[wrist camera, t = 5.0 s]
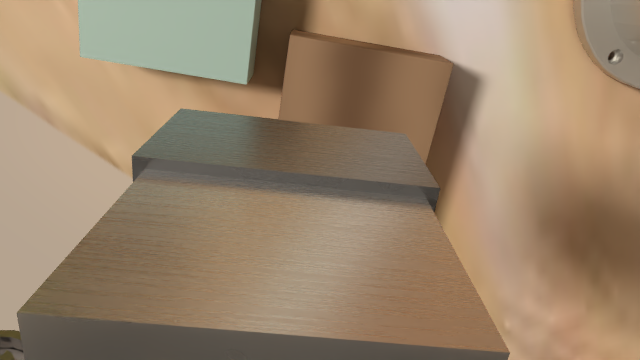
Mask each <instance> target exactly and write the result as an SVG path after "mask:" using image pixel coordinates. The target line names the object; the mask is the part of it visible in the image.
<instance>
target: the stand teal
mask: <svg viewBox="0 0 640 360" xmlns="http://www.w3.org/2000/svg"><path fill="white" fill-rule="evenodd" d="M261 2H262V0H78V14H79V41H80V57H84V58H90V59H96V60H102V61H108V62H114V63H120V64H126V65H132V66H138V67H144V68H150V69H156V70H162V71H168V72H174V73H180V74H186V75H192V76H198V77H204V78H210V79H216V80H222V81H228V82H234V83H240V84H246V85H247V83H248V82H249V80H250V79H251V77H252V76H253V74H254V65H255V56H256V47H257V38H258V29H259V20H260V11H261Z"/></svg>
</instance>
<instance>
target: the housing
mask: <svg viewBox="0 0 640 360" xmlns="http://www.w3.org/2000/svg"><path fill="white" fill-rule="evenodd" d="M132 170H133V183H132V184H131V185H130V186H129V188H128V189H127V190H126V191H125V192H124V193H123V194H122V195H121V196H120V198H119V199H118V200H117V201H116V202H115V203H114V204H113V205H112V207H111V208H110V209H109V210H108V211H107V212H106V213H105V214H104V216H103V217H102V218H101V219H100V220H99V221H98V222H97V224H96V225H95V226H94V227H93V228H92V229H91V230H90V231H89V232H88V234H87V235H86V236H85V237H84V238H83V239H82V240H81V241H80V242H79V244H78V245H77V246H76V247H75V248H74V249H73V250H72V251H71V253H70V254H69V255H68V256H67V257H66V258H65V259H64V260H63V262H62V263H61V264H60V265H59V266H58V267H57V268H56V269H55V270H54V272H53V273H52V274H51V275H50V276H49V277H48V278H47V279H46V281H45V282H44V283H43V284H42V285H41V286H40V287H39V288H38V289H37V291H36V292H35V293H34V294H33V295H32V296H31V297H30V298H29V300H28V301H27V302H26V303H25V304H24V305H23V306H22V307H21V309H20V310H19V311H18V312H17V317H18V323H19V329H20V335H21V341H22V347H23V353H24V359H25V360H508V357H509V354H510V352H509V350H508V348H507V346H506V344H505V343H504V341H503V339H502V337H501V335H500V333H499V332H498V330H497V328H496V326H495V324H494V322H493V320H492V319H491V317H490V315H489V313H488V311H487V309H486V308H485V306H484V304H483V302H482V300H481V298H480V296H479V295H478V293H477V291H476V289H475V287H474V285H473V284H472V282H471V280H470V278H469V276H468V274H467V273H466V271H465V269H464V267H463V265H462V263H461V261H460V260H459V258H458V256H457V254H456V252H455V250H454V249H453V247H452V245H451V243H450V241H449V239H448V237H447V236H446V234H445V232H444V230H443V228H442V226H441V225H440V223H439V221H438V219H437V217H436V215H435V214H434V212H435V208H436V203H437V199H438V195H439V191H440V187H439V185H438V184H437V182H436V181H435V179H434V177H433V176H432V174H431V173H430V171H429V170H428V168H427V166H426V165H425V163H424V162H423V160H422V159H421V157H420V155H419V154H418V152H417V151H416V149H415V148H414V146H413V144H412V143H411V141H410V140H409V138H408V137H407V135H406V134H404V133H395V132H386V131H377V130H368V129H360V128H351V127H342V126H333V125H324V124H315V123H306V122H297V121H288V120H279V119H270V118H261V117H252V116H243V115H234V114H225V113H216V112H207V111H198V110H189V109H180V110H179V111H178V112H177V113H176V114H175V115H174V116H173V117H172V118H171V119H170V120H169V121H168V122H167V123H166V124H164V125H163V126H162V127H161V128H160V129H159V130H158V131H157V132H156V133H155V134H154V135H153V136H152V137H151V138H150V139H149V140H148V141H147V142H146V143H145V144H144V145H143V146H142V147H141V148H140V149H139V150H138V151H136V152H135V153H134V154H133V155H132Z"/></svg>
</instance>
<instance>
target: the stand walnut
mask: <svg viewBox="0 0 640 360" xmlns="http://www.w3.org/2000/svg"><path fill="white" fill-rule="evenodd" d="M452 68H453V63H452V62H450V61H448V60H447V59H445V58H443V57H442V56H440V55H434V54H428V53H423V52H417V51H411V50H406V49H400V48H394V47H389V46H383V45H377V44H372V43H366V42H360V41H355V40H349V39H343V38H338V37H332V36H326V35H321V34H315V33H309V32H304V31H298V30H292V32H291V34H290V39H289V46H288V53H287V60H286V68H285V75H284V82H283V89H282V97H281V104H280V111H279V120H288V121H297V122H306V123H315V124H324V125H333V126H342V127H351V128H360V129H368V130H377V131H386V132H395V133H404V134H406V135H407V137H408V138H409V140H410V141H411V143H412V144H413V146H414V148H415V149H416V151H417V152H418V154H419V155H420V157H421V159H422V160H423V162H424V163H425V164H426V161H427V157H428V154H429V150H430V147H431V143H432V139H433V136H434V132H435V129H436V125H437V122H438V118H439V114H440V111H441V107H442V104H443V100H444V97H445V93H446V89H447V86H448V82H449V79H450V75H451V72H452Z"/></svg>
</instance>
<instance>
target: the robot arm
mask: <svg viewBox="0 0 640 360" xmlns="http://www.w3.org/2000/svg"><path fill="white" fill-rule="evenodd" d="M573 9H574V16H575V24H576V29H577V32H578V35H579V38H580V40H581V43H582V46H583V48H584V49H585V51H586V52H587V54H588V55H589V57H590V58H591V60H592V62H593V63H594V64H596V65H597V66H598V67H599V68H600V69H601V70H602V71H603V72H604V73H605V74H607V75H608V76H610V77H612V78H614V79H616V80H617V81H619V82H621V83H624V84H627V85H630V86H633V87H635V88H638V89H640V0H574V5H573ZM609 54H610V56H609ZM608 56H609V58H608ZM0 360H25V359H24V353H23V347H22V341H21V335H20V331H15V330H0Z"/></svg>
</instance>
